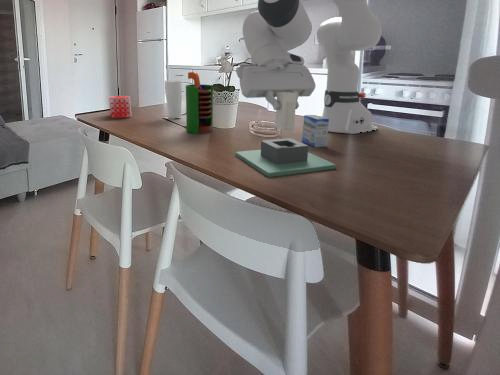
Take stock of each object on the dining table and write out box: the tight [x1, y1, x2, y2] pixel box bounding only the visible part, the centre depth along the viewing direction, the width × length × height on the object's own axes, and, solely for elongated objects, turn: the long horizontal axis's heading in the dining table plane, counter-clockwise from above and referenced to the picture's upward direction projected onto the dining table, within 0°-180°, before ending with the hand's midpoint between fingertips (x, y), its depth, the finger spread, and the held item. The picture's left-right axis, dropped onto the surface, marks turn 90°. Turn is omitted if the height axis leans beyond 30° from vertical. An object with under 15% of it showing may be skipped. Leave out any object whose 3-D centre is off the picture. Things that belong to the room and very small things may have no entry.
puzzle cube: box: [108, 95, 132, 119], centre depth 157 cm, size 8×8×8 cm
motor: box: [185, 71, 214, 135], centre depth 129 cm, size 10×9×20 cm
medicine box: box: [301, 114, 329, 148], centre depth 116 cm, size 8×4×9 cm, turn 23°
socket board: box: [235, 137, 337, 178], centre depth 97 cm, size 19×20×5 cm
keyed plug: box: [274, 92, 296, 132], centre depth 93 cm, size 4×4×9 cm
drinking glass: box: [164, 79, 183, 119], centre depth 153 cm, size 7×7×15 cm
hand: (286, 108), depth 93 cm, fingers closed on keyed plug, 3 cm apart
